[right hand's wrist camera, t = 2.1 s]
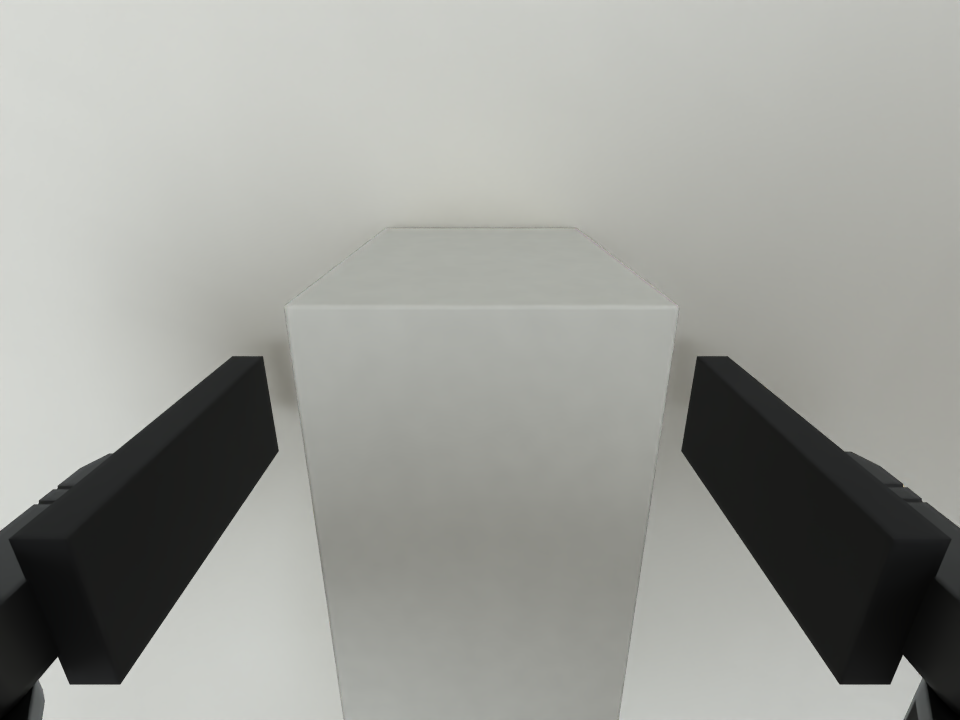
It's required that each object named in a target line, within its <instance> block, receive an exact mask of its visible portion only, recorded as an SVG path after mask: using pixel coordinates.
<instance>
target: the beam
mask: <svg viewBox="0 0 960 720" xmlns="http://www.w3.org/2000/svg"><path fill="white" fill-rule="evenodd" d="M284 311H285V318H286V325H287V332H288V338H289V345H290V352H291V359H292V366H293V373H294V380H295V387H296V394H297V401H298V407H299V414H300V421H301V428H302V435H303V442H304V449H305V456H306V463H307V469H308V476H309V483H310V490H311V497H312V504H313V511H314V518H315V525H316V531H317V538H318V545H319V552H320V559H321V566H322V573H323V580H324V587H325V594H326V600H327V607H328V614H329V621H330V628H331V635H332V642H333V649H334V656H335V662H336V669H337V676H338V683H339V690H340V697H341V704H342V711H343V718H344V720H619V713H620V707H621V700H622V693H623V686H624V679H625V673H626V666H627V659H628V652H629V646H630V639H631V632H632V625H633V618H634V612H635V605H636V598H637V591H638V584H639V578H640V571H641V564H642V557H643V551H644V544H645V537H646V530H647V523H648V517H649V510H650V503H651V496H652V490H653V483H654V476H655V469H656V462H657V456H658V449H659V442H660V435H661V429H662V422H663V415H664V408H665V401H666V395H667V388H668V381H669V374H670V367H671V361H672V354H673V347H674V340H675V334H676V327H677V320H678V313H679V306H678V305H677V304H676V303H675V302H673V301H672V300H671V299H669V298H668V297H667V296H665V295H664V294H663V293H661V292H660V291H659V290H657V289H656V288H655V287H653V286H652V285H651V284H650V283H648V282H647V281H646V280H644V279H643V278H642V277H640V276H639V275H638V274H636V273H635V272H634V271H632V270H631V269H630V268H629V267H627V266H626V265H625V264H623V263H622V262H621V261H619V260H618V259H617V258H615V257H614V256H613V255H611V254H610V253H609V252H607V251H606V250H605V249H604V248H602V247H601V246H600V245H598V244H597V243H596V242H594V241H593V240H592V239H590V238H589V237H588V236H586V235H585V234H584V233H582V232H581V231H580V230H579V229H577V228H385V229H384V230H382V231H381V232H380V233H378V234H377V235H376V236H375V237H373V238H372V239H371V240H369V241H368V242H367V243H365V244H364V245H363V246H362V247H360V248H359V249H358V250H356V251H355V252H354V253H352V254H351V255H350V256H349V257H347V258H346V259H345V260H343V261H342V262H341V263H339V264H338V265H337V266H336V267H334V268H333V269H332V270H330V271H329V272H328V273H326V274H325V275H324V276H322V277H321V278H320V279H319V280H317V281H316V282H315V283H313V284H312V285H311V286H309V287H308V288H307V289H306V290H304V291H303V292H302V293H300V294H299V295H298V296H296V297H295V298H294V299H293V300H291V301H290V302H289V303H287V304H286V305H285V307H284Z"/></svg>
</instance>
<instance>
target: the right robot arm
mask: <svg viewBox="0 0 960 720" xmlns="http://www.w3.org/2000/svg"><path fill="white" fill-rule="evenodd" d="M278 451H279V450H278V444H277V438H276V432H275V426H274V420H273V414H272V408H271V402H270V396H269V390H268V384H267V378H266V372H265V366H264V360H263V356H232V357H231V358H230V359H229V360H227V361H226V362H225V363H224V364H222V365H221V366H220V367H219V368H218V369H216V370H215V371H214V372H213V373H211V374H210V375H209V376H208V377H207V378H205V379H204V380H203V381H202V382H200V383H199V384H198V385H197V386H195V387H194V388H193V389H192V390H191V391H189V392H188V393H187V394H186V395H184V396H183V397H182V398H181V399H180V400H178V401H177V402H176V403H175V404H173V405H172V406H171V407H170V408H169V409H167V410H166V411H165V412H164V413H162V414H161V415H160V416H159V417H157V418H156V419H155V420H154V421H153V422H151V423H150V424H149V425H148V426H146V427H145V428H144V429H143V430H142V431H140V432H139V433H138V434H137V435H135V436H134V437H133V438H132V439H130V440H129V441H128V442H127V443H126V444H124V445H123V446H122V447H121V448H119V449H118V450H117V451H116V452H115V453H113V454H108V455H106V456H104V457H102V458H100V459H98V460H96V461H94V462H92V463H90V464H88V465H86V466H84V467H82V468H80V469H79V470H77V471H76V472H75V473H74V474H72V475H71V476H70V477H68V478H67V479H66V480H65V481H63V482H62V483H61V484H59V485H58V488H57V489H53V490H52V491H51V492H49V493H48V494H47V495H45V496H44V497H43V498H42V499H40V500H39V504H34V505H33V506H31V507H30V508H29V509H28V510H26V511H25V512H24V513H23V514H21V515H20V516H19V517H17V518H16V519H15V520H14V521H12V522H11V523H10V524H9V525H7V526H6V527H5V528H3V529H2V530H1V531H0V720H42V716H43V710H44V703H45V700H44V694H43V689H42V687H41V685H40V682H39V680H38V679H39V678H40V677H41V676H42V675H43V674H44V672H45V671H46V670H47V669H48V668H49V666H50V665H51V664H52V663H53V662H54V660H55V659H56V658H57V657H58V658H59V660H60V663H61V665H62V667H63V670H64V672H65V674H66V677H67V679H68V681H69V684H121V683H122V681H123V680H124V678H125V677H126V675H127V674H128V672H129V671H130V669H131V668H132V666H133V665H134V663H135V662H136V660H137V659H138V658H139V656H140V655H141V653H142V652H143V650H144V649H145V647H146V646H147V644H148V643H149V641H150V640H151V638H152V637H153V635H154V634H155V632H156V631H157V630H158V628H159V627H160V625H161V624H162V622H163V621H164V619H165V618H166V616H167V615H168V613H169V612H170V610H171V609H172V607H173V606H174V605H175V603H176V602H177V600H178V599H179V597H180V596H181V594H182V593H183V591H184V590H185V588H186V587H187V585H188V584H189V582H190V581H191V579H192V578H193V577H194V575H195V574H196V572H197V571H198V569H199V568H200V566H201V565H202V563H203V562H204V560H205V559H206V557H207V556H208V554H209V553H210V551H211V550H212V549H213V547H214V546H215V544H216V543H217V541H218V540H219V538H220V537H221V535H222V534H223V532H224V531H225V529H226V528H227V526H228V525H229V523H230V522H231V521H232V519H233V518H234V516H235V515H236V513H237V512H238V510H239V509H240V507H241V506H242V504H243V503H244V501H245V500H246V498H247V497H248V496H249V494H250V493H251V491H252V490H253V488H254V487H255V485H256V484H257V482H258V481H259V479H260V478H261V476H262V475H263V473H264V472H265V470H266V469H267V468H268V466H269V465H270V463H271V462H272V460H273V459H274V457H275V456H276V454H277V453H278ZM681 451H682V453H683V454H684V456H685V457H686V459H687V460H688V462H689V463H690V465H691V466H692V468H693V469H694V470H695V472H696V473H697V475H698V476H699V478H700V479H701V481H702V482H703V484H704V485H705V487H706V488H707V490H708V491H709V493H710V494H711V495H712V497H713V498H714V500H715V501H716V503H717V504H718V506H719V507H720V509H721V510H722V512H723V513H724V515H725V516H726V518H727V519H728V521H729V522H730V523H731V525H732V526H733V528H734V529H735V531H736V532H737V534H738V535H739V537H740V538H741V540H742V541H743V543H744V544H745V546H746V547H747V549H748V550H749V551H750V553H751V554H752V556H753V557H754V559H755V560H756V562H757V563H758V565H759V566H760V568H761V569H762V571H763V572H764V574H765V575H766V577H767V578H768V579H769V581H770V582H771V584H772V585H773V587H774V588H775V590H776V591H777V593H778V594H779V596H780V597H781V599H782V600H783V602H784V603H785V604H786V606H787V607H788V609H789V610H790V612H791V613H792V615H793V616H794V618H795V619H796V621H797V622H798V624H799V625H800V627H801V628H802V630H803V631H804V632H805V634H806V635H807V637H808V638H809V640H810V641H811V643H812V644H813V646H814V647H815V649H816V650H817V652H818V653H819V655H820V656H821V658H822V659H823V660H824V662H825V663H826V665H827V666H828V668H829V669H830V671H831V672H832V674H833V675H834V677H835V678H836V680H837V681H838V683H839V684H891V681H892V679H893V677H894V674H895V672H896V670H897V667H898V665H899V663H900V660H901V658H902V655H904V656H905V657H906V659H907V660H908V661H909V662H910V663H911V665H912V666H913V667H914V668H915V669H916V670H917V672H918V673H919V674H920V675H921V676H922V680H921V682H920V685H919V687H918V689H917V691H916V694H915V696H914V698H913V700H912V702H911V705H910V707H909V709H908V711H907V713H906V716H905V718H904V720H960V528H959V527H958V526H956V525H955V524H954V523H953V522H951V521H950V520H949V519H947V518H946V517H945V516H944V515H942V514H941V513H940V512H938V511H937V510H936V509H935V508H933V507H932V506H931V505H929V504H928V503H927V502H922V498H920V497H919V496H918V495H917V494H915V493H914V492H913V491H911V490H910V489H909V488H908V487H903V484H902V483H901V482H900V481H899V480H897V479H896V478H895V477H893V476H892V475H891V474H890V473H888V472H887V471H886V470H884V469H883V468H882V467H881V466H879V465H877V464H875V463H873V462H871V461H869V460H867V459H865V458H863V457H861V456H859V455H857V454H855V453H853V452H844V451H843V450H842V449H841V448H839V447H838V446H837V445H836V444H834V443H833V442H832V441H831V440H830V439H828V438H827V437H826V436H825V435H823V434H822V433H821V432H820V431H818V430H817V429H816V428H815V427H814V426H812V425H811V424H810V423H809V422H807V421H806V420H805V419H804V418H803V417H801V416H800V415H799V414H798V413H796V412H795V411H794V410H793V409H792V408H790V407H789V406H788V405H787V404H785V403H784V402H783V401H782V400H780V399H779V398H778V397H777V396H776V395H774V394H773V393H772V392H771V391H769V390H768V389H767V388H766V387H765V386H763V385H762V384H761V383H760V382H758V381H757V380H756V379H755V378H753V377H752V376H751V375H750V374H749V373H747V372H746V371H745V370H744V369H742V368H741V367H740V366H739V365H738V364H736V363H735V362H734V361H733V360H731V359H730V358H729V357H728V356H697V360H696V366H695V372H694V378H693V384H692V390H691V396H690V402H689V408H688V414H687V420H686V426H685V432H684V438H683V444H682V450H681Z"/></svg>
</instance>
